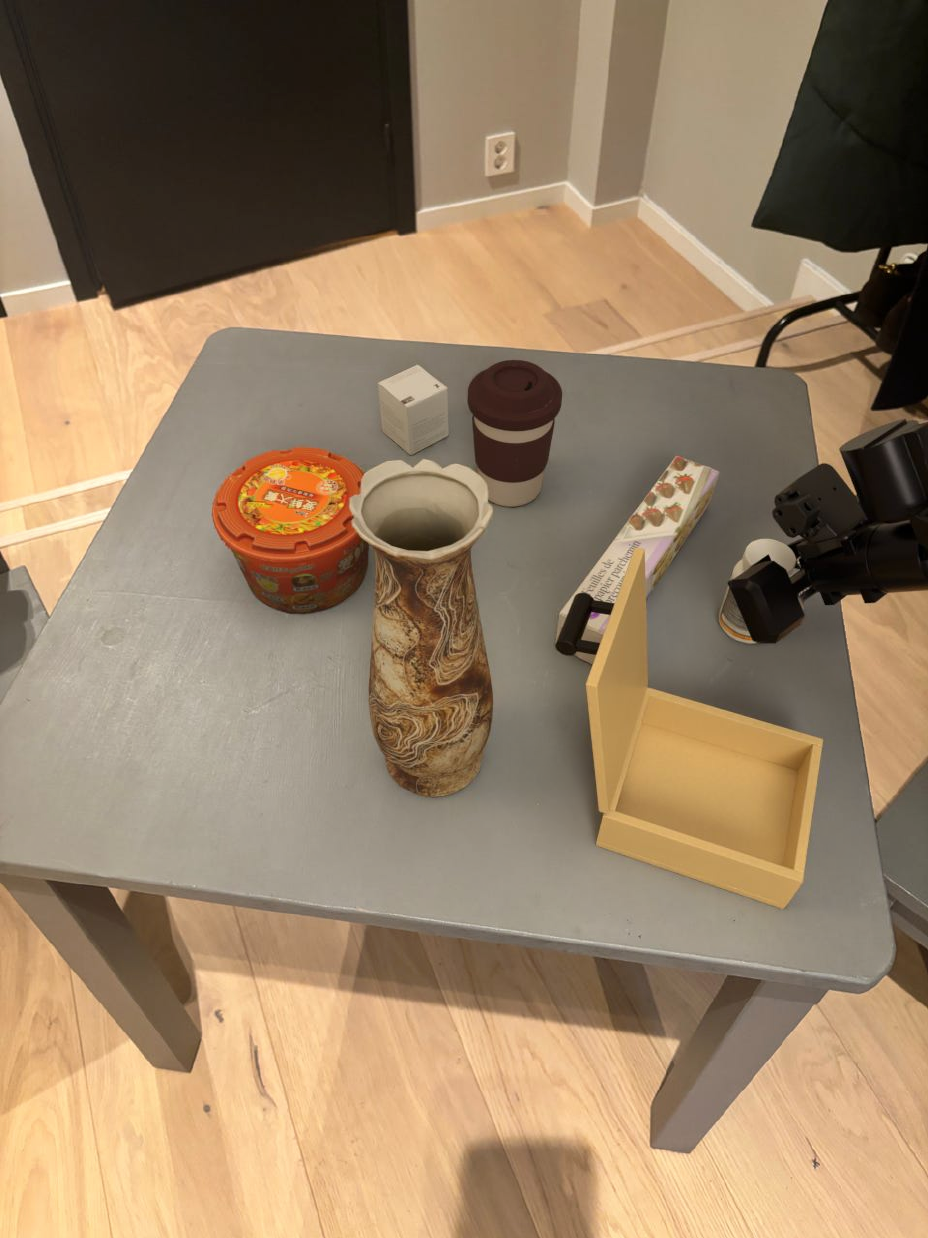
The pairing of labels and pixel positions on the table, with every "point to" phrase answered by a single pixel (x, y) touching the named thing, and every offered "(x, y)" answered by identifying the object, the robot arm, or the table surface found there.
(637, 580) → the upright wooden panel
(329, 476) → the food container
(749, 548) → the pill bottle
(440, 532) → the vase
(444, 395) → the product carton
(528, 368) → the coffee cup
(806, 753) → the shallow kraft tray
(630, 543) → the box
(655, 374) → the table surface
